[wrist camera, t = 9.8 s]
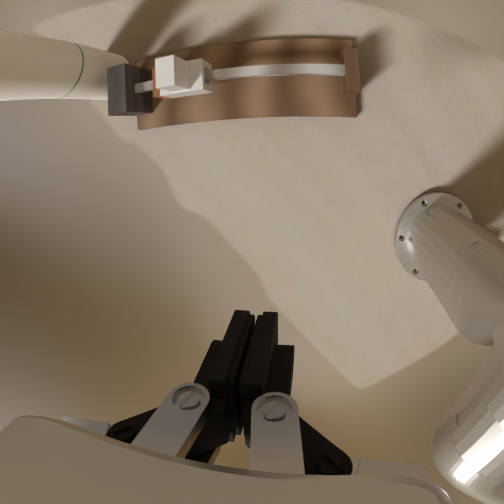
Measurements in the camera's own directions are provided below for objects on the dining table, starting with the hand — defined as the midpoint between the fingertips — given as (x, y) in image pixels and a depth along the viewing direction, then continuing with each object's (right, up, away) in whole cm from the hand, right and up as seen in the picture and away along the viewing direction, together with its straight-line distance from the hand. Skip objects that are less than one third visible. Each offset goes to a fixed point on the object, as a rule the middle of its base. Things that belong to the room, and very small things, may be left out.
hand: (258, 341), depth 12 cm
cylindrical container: (-21, +29, +24) cm, 43 cm away
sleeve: (-7, +24, +20) cm, 32 cm away
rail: (-2, +25, +22) cm, 33 cm away
